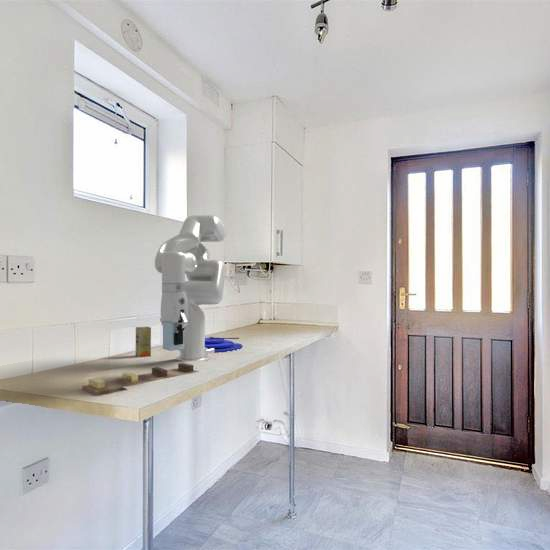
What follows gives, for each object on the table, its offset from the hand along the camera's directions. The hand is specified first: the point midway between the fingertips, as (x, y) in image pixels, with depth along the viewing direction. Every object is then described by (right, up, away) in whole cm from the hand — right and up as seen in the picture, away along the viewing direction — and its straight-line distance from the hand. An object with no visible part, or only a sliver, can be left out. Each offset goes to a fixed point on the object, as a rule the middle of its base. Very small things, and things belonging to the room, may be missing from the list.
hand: (173, 342), depth 131 cm
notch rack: (-7, -11, -8) cm, 15 cm away
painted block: (0, -2, 0) cm, 2 cm away
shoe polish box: (-22, -12, +36) cm, 44 cm away
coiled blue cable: (+3, -13, +57) cm, 59 cm away
